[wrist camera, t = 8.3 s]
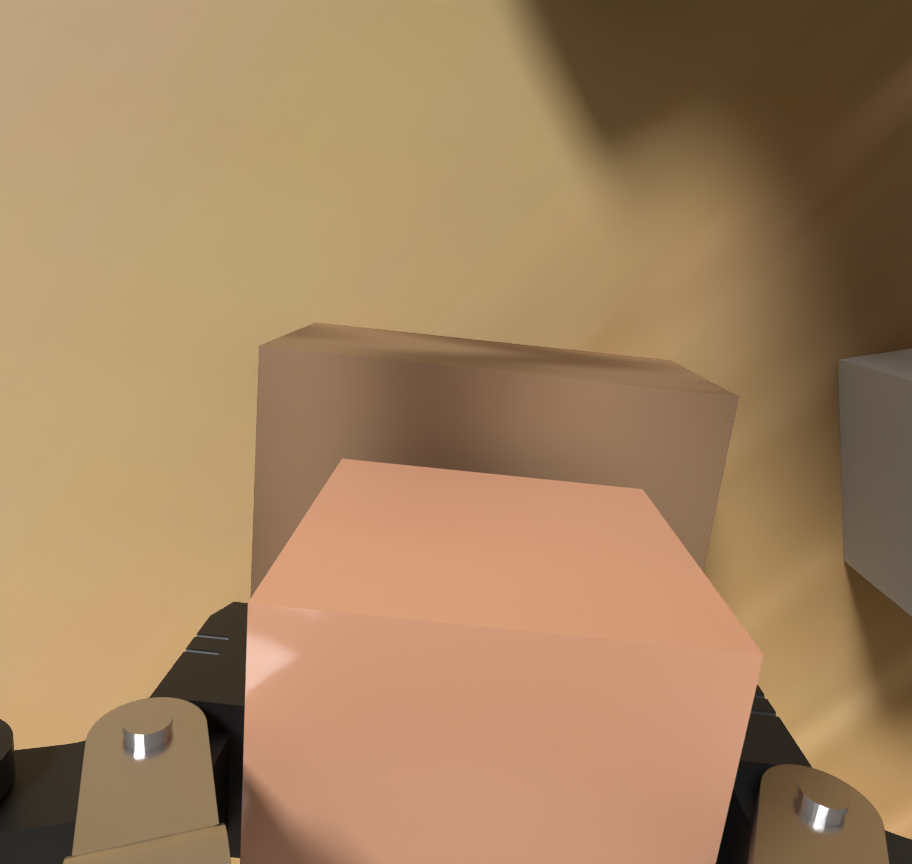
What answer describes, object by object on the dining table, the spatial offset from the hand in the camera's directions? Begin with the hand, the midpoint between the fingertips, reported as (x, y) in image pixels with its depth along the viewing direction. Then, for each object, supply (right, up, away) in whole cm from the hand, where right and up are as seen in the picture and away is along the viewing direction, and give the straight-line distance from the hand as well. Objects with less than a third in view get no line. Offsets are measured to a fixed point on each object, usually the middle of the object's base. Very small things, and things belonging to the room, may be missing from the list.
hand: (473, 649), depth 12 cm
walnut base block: (0, +2, +7) cm, 7 cm away
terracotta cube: (0, 0, +1) cm, 1 cm away
